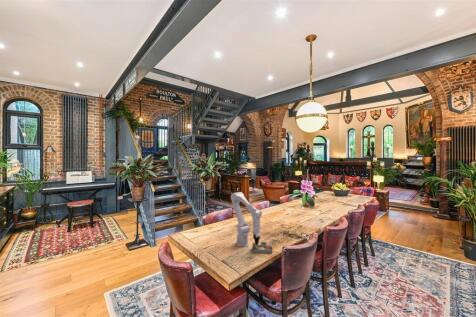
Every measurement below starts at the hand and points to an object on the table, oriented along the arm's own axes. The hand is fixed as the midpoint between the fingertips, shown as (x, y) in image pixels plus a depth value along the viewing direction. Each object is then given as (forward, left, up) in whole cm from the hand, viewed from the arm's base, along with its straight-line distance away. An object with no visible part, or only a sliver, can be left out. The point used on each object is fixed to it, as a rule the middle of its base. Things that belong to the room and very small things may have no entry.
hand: (256, 242), depth 163 cm
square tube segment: (+7, +8, -6) cm, 12 cm away
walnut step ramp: (0, 0, -6) cm, 6 cm away
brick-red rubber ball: (+9, -1, -4) cm, 10 cm away
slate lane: (+5, 0, -6) cm, 8 cm away
